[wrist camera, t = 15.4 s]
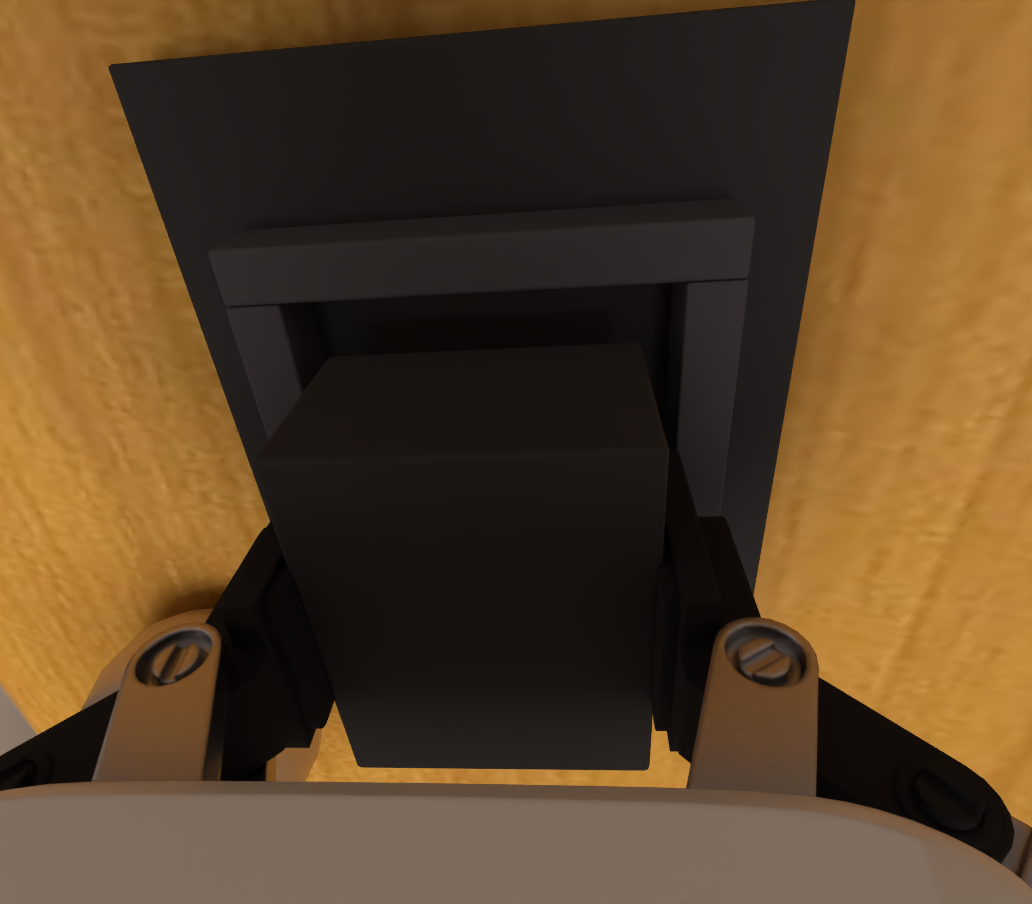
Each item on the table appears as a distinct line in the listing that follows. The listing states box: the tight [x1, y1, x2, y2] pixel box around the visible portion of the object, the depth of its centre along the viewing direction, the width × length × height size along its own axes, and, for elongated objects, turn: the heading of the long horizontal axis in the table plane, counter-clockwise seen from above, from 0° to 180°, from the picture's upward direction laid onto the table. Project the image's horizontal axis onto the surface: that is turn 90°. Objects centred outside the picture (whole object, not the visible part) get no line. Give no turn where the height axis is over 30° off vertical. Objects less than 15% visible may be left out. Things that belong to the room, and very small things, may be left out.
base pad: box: [109, 0, 855, 594], centre depth 14 cm, size 16×12×3 cm
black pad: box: [253, 342, 669, 770], centre depth 12 cm, size 7×6×4 cm
